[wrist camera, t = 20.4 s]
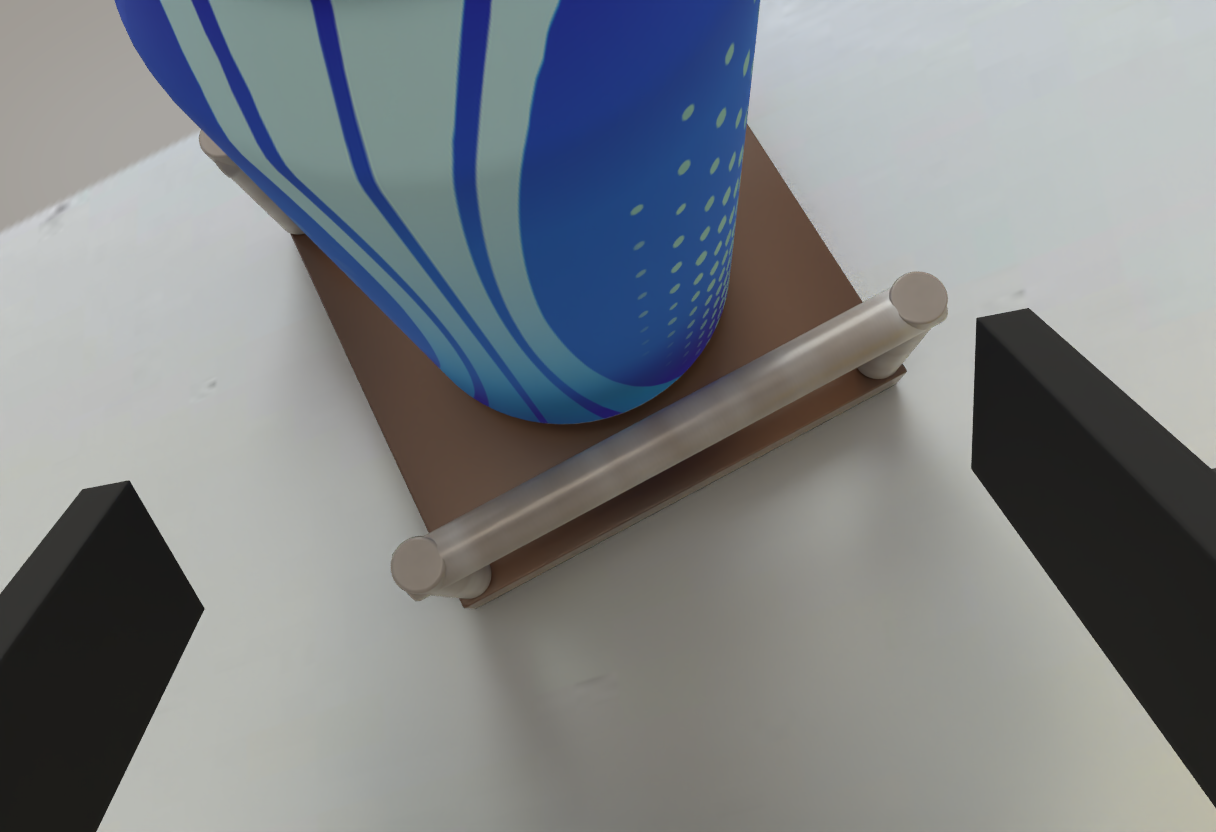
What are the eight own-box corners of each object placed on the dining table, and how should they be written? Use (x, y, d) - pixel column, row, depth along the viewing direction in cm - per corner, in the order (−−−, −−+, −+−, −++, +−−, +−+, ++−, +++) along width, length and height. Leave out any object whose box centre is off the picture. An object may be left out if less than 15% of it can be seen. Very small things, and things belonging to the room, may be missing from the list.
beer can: (709, 453, 23) (750, 86, 7) (399, 417, 24) (-157, 26, 8) (742, 159, 24) (831, -641, 9) (453, 137, 25) (81, -617, 10)
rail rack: (471, 611, 24) (405, 608, 18) (291, 225, 27) (189, 123, 21) (901, 381, 24) (962, 311, 18) (672, 26, 27) (667, -123, 22)
